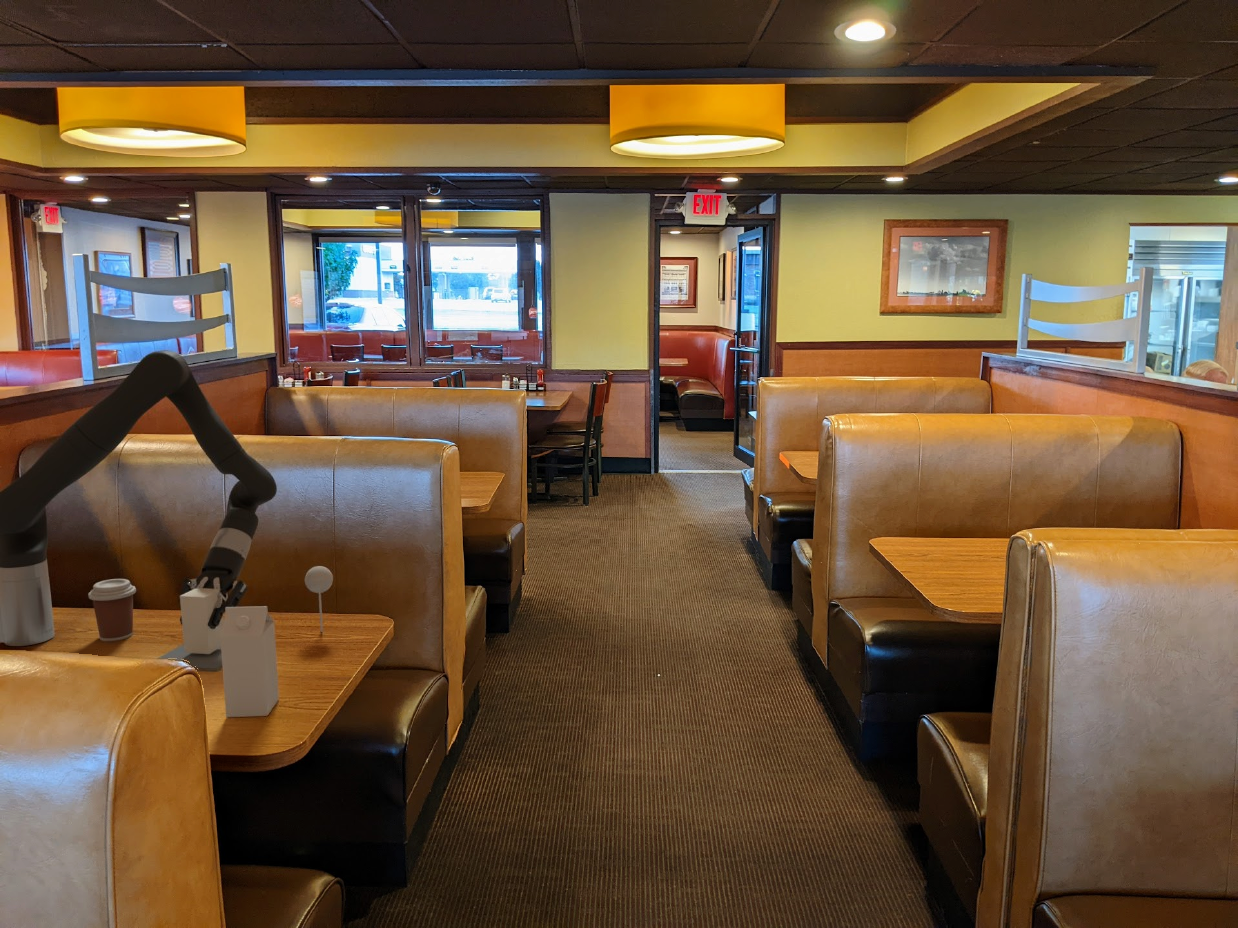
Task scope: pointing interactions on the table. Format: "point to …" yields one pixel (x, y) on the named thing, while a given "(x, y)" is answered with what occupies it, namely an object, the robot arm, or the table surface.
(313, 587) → the lollipop
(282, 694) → the table surface
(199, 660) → the mat
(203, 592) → the block
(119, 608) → the coffee cup
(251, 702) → the milk carton
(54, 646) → the table surface
